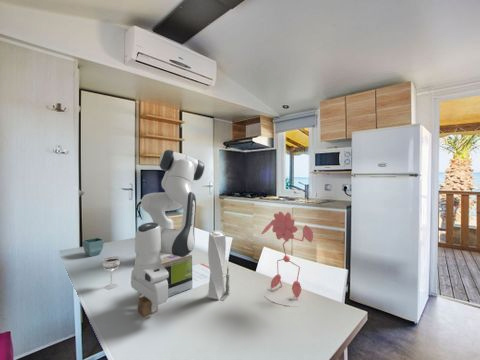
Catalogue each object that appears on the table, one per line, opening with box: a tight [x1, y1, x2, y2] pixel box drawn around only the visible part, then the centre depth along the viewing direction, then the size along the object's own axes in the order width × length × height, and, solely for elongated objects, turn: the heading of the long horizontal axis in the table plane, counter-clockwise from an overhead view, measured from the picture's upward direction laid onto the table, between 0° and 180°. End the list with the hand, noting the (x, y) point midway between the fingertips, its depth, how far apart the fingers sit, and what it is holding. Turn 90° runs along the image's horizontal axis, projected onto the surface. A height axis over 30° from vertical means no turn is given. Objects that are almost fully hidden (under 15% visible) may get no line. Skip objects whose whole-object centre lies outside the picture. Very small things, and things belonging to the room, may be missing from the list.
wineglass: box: [102, 256, 121, 290], centre depth 106 cm, size 7×7×12 cm
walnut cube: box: [137, 296, 159, 318], centre depth 87 cm, size 5×5×5 cm
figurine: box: [261, 211, 314, 307], centre depth 100 cm, size 15×26×35 cm, turn 45°
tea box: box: [160, 253, 193, 298], centre depth 104 cm, size 15×10×15 cm, turn 134°
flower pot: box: [82, 237, 105, 257], centre depth 147 cm, size 9×9×9 cm
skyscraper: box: [207, 230, 231, 302], centre depth 99 cm, size 8×8×28 cm
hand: (147, 307), depth 87 cm, fingers open, 6 cm apart
